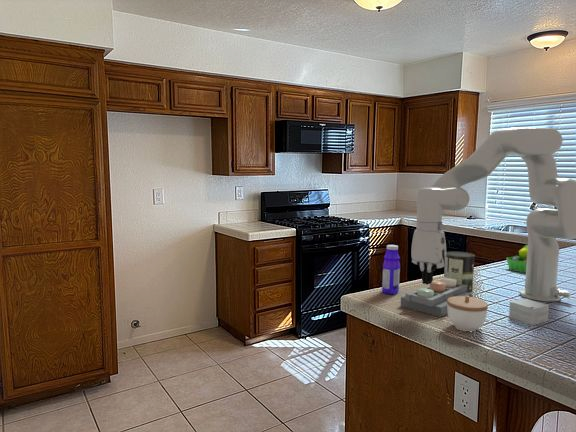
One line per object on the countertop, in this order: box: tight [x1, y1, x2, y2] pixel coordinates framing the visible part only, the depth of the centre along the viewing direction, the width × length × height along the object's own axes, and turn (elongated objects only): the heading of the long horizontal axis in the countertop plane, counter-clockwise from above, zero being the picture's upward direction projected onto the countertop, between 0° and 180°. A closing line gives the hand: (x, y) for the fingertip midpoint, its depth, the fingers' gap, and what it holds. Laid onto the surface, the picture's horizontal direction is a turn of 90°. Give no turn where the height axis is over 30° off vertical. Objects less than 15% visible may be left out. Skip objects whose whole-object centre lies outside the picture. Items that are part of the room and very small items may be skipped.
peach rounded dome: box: [429, 280, 446, 293], centre depth 142 cm, size 5×5×3 cm
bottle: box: [381, 244, 401, 295], centre depth 154 cm, size 7×6×17 cm
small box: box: [508, 297, 550, 326], centre depth 129 cm, size 8×8×5 cm
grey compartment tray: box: [400, 280, 473, 318], centre depth 142 cm, size 14×25×5 cm, turn 134°
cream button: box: [440, 276, 457, 288], centre depth 147 cm, size 5×5×3 cm
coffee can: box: [443, 250, 476, 294], centre depth 157 cm, size 10×10×14 cm
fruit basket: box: [505, 244, 528, 273], centre depth 190 cm, size 11×9×11 cm
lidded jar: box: [447, 296, 489, 332], centre depth 121 cm, size 11×11×9 cm
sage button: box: [416, 287, 434, 298], centre depth 136 cm, size 5×5×3 cm
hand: (427, 283), depth 136 cm, fingers closed
